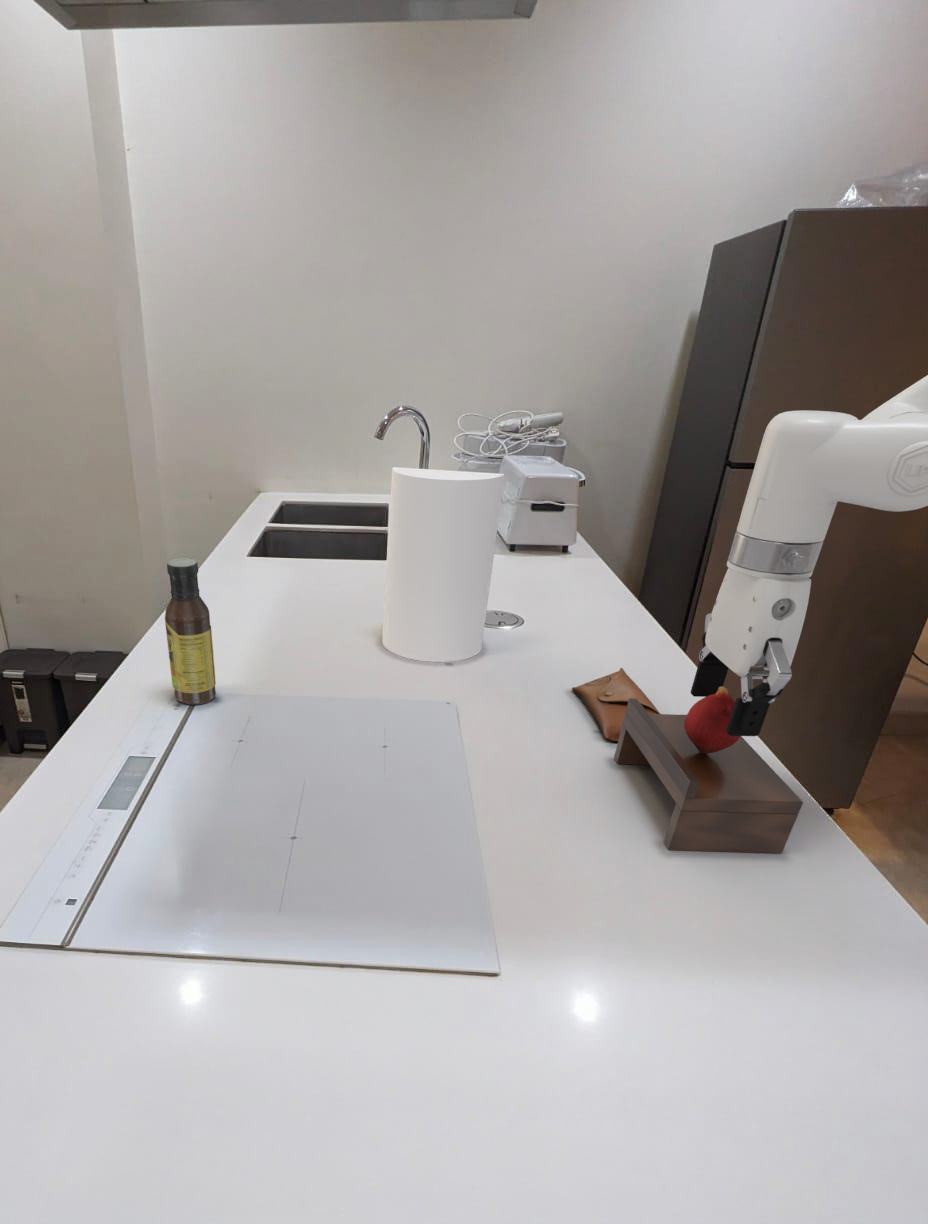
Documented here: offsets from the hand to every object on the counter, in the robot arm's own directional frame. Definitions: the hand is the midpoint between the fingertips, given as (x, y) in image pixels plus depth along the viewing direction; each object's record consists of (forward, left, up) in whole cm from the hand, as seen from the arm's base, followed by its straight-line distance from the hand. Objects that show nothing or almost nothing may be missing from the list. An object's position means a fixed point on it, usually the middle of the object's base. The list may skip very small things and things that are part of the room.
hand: (722, 714), depth 82 cm
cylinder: (+26, -50, -12) cm, 58 cm away
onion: (+1, 0, -5) cm, 5 cm away
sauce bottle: (+63, -25, -12) cm, 69 cm away
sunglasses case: (+2, -23, -12) cm, 26 cm away
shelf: (0, 0, -11) cm, 11 cm away
